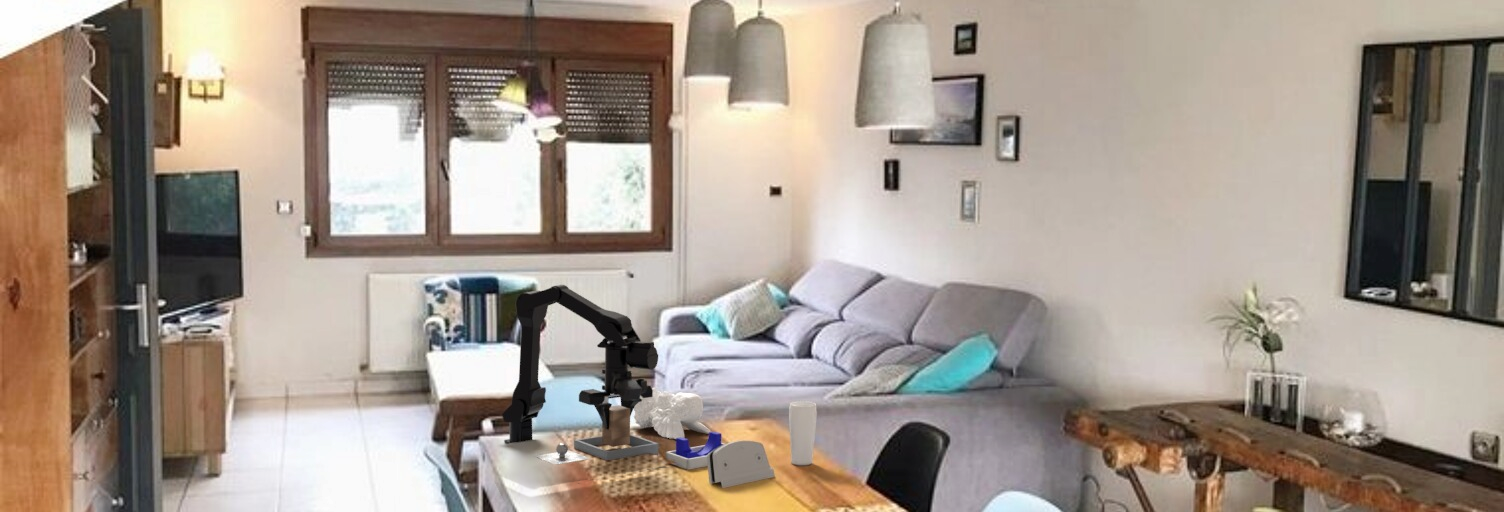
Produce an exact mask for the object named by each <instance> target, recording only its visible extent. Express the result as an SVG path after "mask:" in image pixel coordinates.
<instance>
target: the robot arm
mask: <svg viewBox="0 0 1504 512" xmlns="http://www.w3.org/2000/svg"><path fill="white" fill-rule="evenodd" d="M556 303H557V304H559V305H560V306H563V307H564V308H565V309H567V310H569V311H570V312H572V313H573V314H576V315H577V316H579V317H581V318H582V319H584V320H585V321H587V322H589V323H590V324H591V325H592V326H593V327H594V328H595V330H596V331H597V332H598V333H599V334H600V335H601V336H603V339H602V341H600V342H599V343H598V344H597V345H596V346H597V348H602V349H605V352H604V357H605V358H604V368H603V369H602V370H601V371H602V372H601V374H603V375H604V385H601V390H603V391H600V390H598V389H595V388H590V389H589V388H588V389H583V390H581V391H580V392H579V394H578V402H580V403H583V404H586V405H589V406H594V408H595V410H596V411H597V413H598V415H599V418H600V420H601V423H602V422H603V425H604V427H605V429H609V409H610V407H611V406H613V404H612V403H610V402H609V399H615V398H616V399H617V398H620V406H623V407H626V408H629V409H630V417H631V415H632V414H633V411H634V407H635V405H636V404H637V403H639V402H641V401H642V399H640V396H641V397H642V398H648V397H653V389H652V388H653V387H652V386H651V385H649V384H648V380H647V379H646V378H644V377H643V378H642V377H641V378H638V379H637V378H636V379H633V377H632V374H633V373H632V371H631V370H629V368H631V369H640V370H641V369H642V370H651V371H652V370H653V371H654V369H655V368H656V367H657V365H658V362H659V354H658V350H657V348H656V347H655V342H654V341H641V339H640V337H639V335H638V334H637V332H636V330H635V329H634V327H633V324H632V320H631V319H630V318H629V316H627V315H624V314H622V313H619V312H616V311H612V310H608V309H605V308H602V307H601V306H599V305H598V304H595V303H594V302H592V301H591V300H589V299H587V298H586V297H584V296H582V295H581V294H579V293H576V292H575V291H574V290H572V289H570V287H568V286H567V285H565V284H558V285H553V286H551V287H550V288H547V289H544V290H534V291H527V292H523V293H520V294H519V295H518V296H517V297H516V300H515V311H516V318H517V320H518V321H519V324H520V327H521V330H520V331H521V332H520V334H521V335H520V352H519V371H518V372H519V374H518V382H517V384H516V386H515V388H514V390H513V391H512V397H511V402H510V406H508V407H507V408H506V410H504V411H503V413H502V417H503V421H504V423H509V438H508V439H504V440H503V441H504V443H506V444H514V443H515V444H516V443H521V442H527V441H534V439H533V419H535V418H538V417H539V416H538V415H539V413H540V411H541V409H543V407H544V404H545V403H547V401H546V391H547V389H546V387H542V386H541V385H540V382H539V369H540V367H539V365H540V347H541V346H540V345H541V344H540V343H541V328H542V324H543V323H544V320H545V318H546V316H547V313H548V308H549V307H550V306H551V305H553V304H556Z"/></svg>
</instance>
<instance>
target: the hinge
mask: <svg viewBox="0 0 1504 512" xmlns="http://www.w3.org/2000/svg"><path fill="white" fill-rule="evenodd" d="M707 464H708V466H707V472H708V473H707V474H708V482H709V483H708V484H710V485H713V484H717V483H721V488H723V489H724V488H729V487H734V486H739V485H742V484H747V483H753V482H757V481H761V480H766V479H770V478H775V477H776V474H775V470H774V469H773V467H772V466H771V465H770V462H769V458H768V455H767V453H766V450H765V446H764V444H763V443H762V442H759V441H754V440H736V441H731V442H727V443H724V445H721V446H719V447H718V448H716V449H714V450H713V451H711V452H710V453H709V454H708V455H707Z"/></svg>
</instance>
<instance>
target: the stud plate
mask: <svg viewBox="0 0 1504 512" xmlns="http://www.w3.org/2000/svg"><path fill="white" fill-rule="evenodd" d="M555 450H556V451H555V452H550V453H542V454H539V455H534V456H533V457H534V458H538V459H540V460H542V461H545V462H547V463H550V464H552V465H562V464H567V463H574V462H579V461H584V460H585V461H586V460H591V458H590V457H588V456H585V455H582V454H580V453H577V452H575V451H572V450H569V447H568V445H567V444H565V443H563V442H562V443H559V444H557V445H556V448H555Z"/></svg>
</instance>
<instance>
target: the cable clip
mask: <svg viewBox="0 0 1504 512" xmlns="http://www.w3.org/2000/svg"><path fill="white" fill-rule="evenodd" d="M689 442H690V441H689V439H688V438H685V437H684V438H682V437H679V438H676V439H675V450H676V455H679V456H682V457H685V458H688V459H689V458H695V457H701V456H706V455H708V454H709V453H710V452H711V451H713V450H714V449H716V448H718V447H719V446H721V443H722V433H721V432H717V431H714V430H713V431H711V432H709V434H708V439H707V440H706V443H705V444H704V445H705V446H704V447H703V448H702V449H701V450H700V451H698V452H694V451H692V450H691V449H690V448H691V446H690V443H689Z"/></svg>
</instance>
